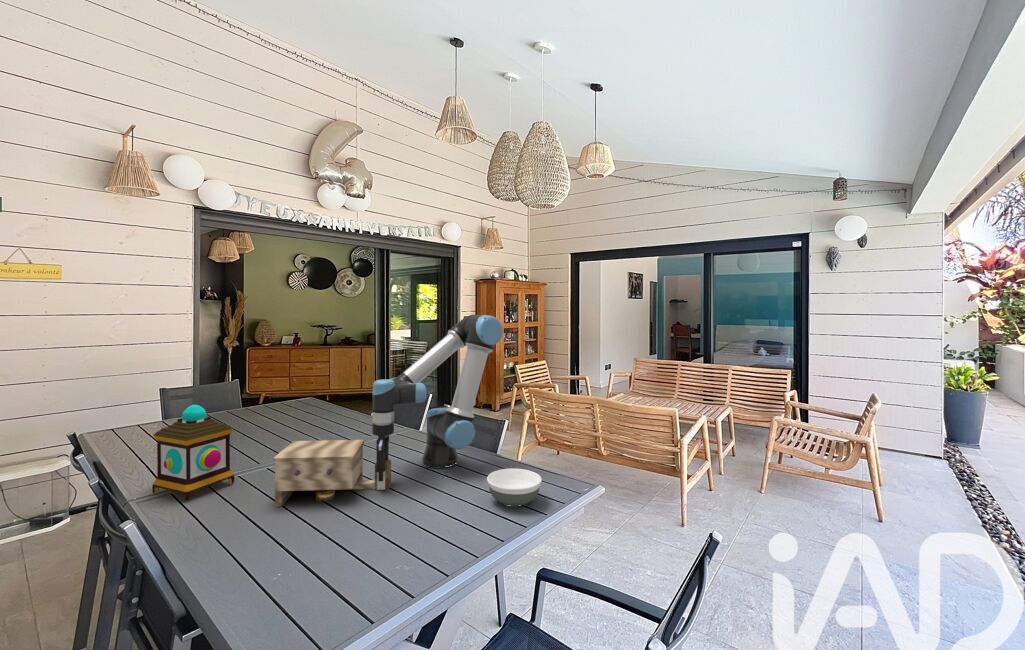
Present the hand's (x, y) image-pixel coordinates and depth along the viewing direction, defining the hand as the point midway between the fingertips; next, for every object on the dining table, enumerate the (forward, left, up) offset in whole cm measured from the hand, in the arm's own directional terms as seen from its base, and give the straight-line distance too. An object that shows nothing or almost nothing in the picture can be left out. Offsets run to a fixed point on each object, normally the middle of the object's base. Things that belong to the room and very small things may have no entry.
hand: (382, 486), depth 164 cm
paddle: (+11, 0, 0) cm, 11 cm away
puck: (+18, +7, 0) cm, 19 cm away
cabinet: (+20, +4, 0) cm, 20 cm away
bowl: (-46, +16, -1) cm, 49 cm away
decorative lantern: (+65, -4, -1) cm, 65 cm away
